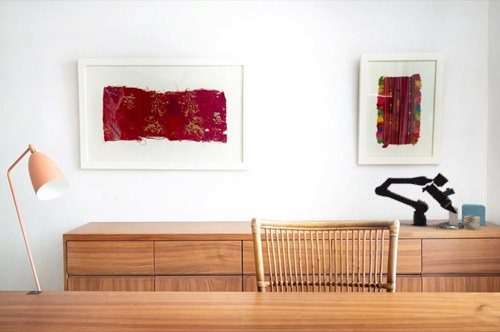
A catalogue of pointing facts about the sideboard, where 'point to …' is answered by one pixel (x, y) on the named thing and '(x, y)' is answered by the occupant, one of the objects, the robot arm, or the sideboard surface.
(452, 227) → the cylinder
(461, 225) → the tray
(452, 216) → the cream block
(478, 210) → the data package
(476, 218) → the birch block
